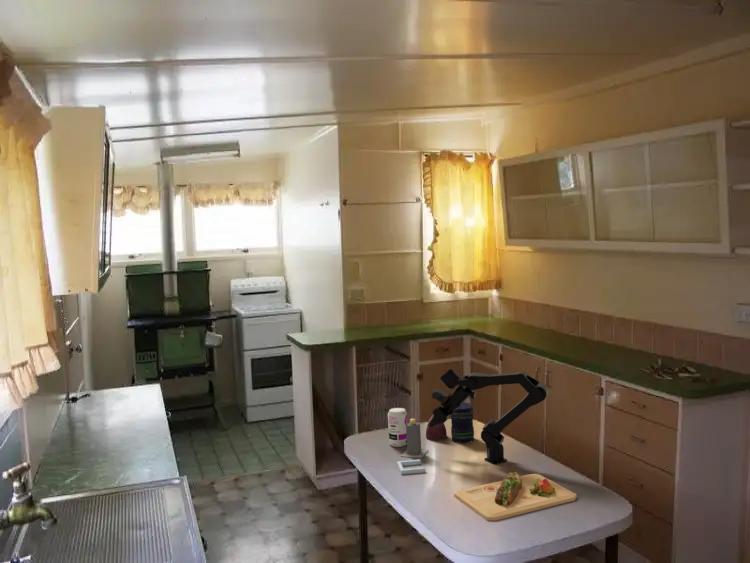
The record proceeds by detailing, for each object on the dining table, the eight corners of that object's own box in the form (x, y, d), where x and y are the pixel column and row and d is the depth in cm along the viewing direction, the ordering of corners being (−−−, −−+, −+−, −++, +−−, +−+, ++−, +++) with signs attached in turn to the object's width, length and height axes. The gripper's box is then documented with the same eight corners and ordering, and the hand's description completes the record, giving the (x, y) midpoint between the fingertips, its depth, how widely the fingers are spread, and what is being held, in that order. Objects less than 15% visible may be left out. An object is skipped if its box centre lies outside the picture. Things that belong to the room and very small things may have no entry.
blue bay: (420, 463, 256) (420, 459, 256) (425, 472, 246) (425, 468, 246) (397, 465, 255) (397, 461, 255) (401, 474, 245) (401, 470, 245)
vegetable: (446, 446, 283) (450, 418, 278) (425, 444, 283) (428, 417, 278) (445, 434, 292) (448, 407, 287) (424, 432, 292) (427, 405, 287)
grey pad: (428, 450, 270) (428, 450, 270) (421, 458, 261) (421, 457, 261) (407, 449, 273) (407, 448, 273) (400, 456, 265) (400, 455, 265)
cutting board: (536, 477, 237) (535, 457, 237) (579, 500, 216) (579, 478, 215) (452, 496, 224) (451, 475, 224) (489, 524, 203) (488, 500, 202)
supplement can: (408, 440, 283) (407, 407, 282) (407, 447, 275) (406, 412, 274) (390, 441, 284) (388, 407, 283) (388, 447, 276) (386, 412, 275)
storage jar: (464, 445, 274) (462, 410, 273) (446, 440, 282) (445, 406, 280) (479, 438, 281) (477, 404, 280) (461, 434, 288) (460, 401, 287)
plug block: (421, 451, 268) (419, 418, 267) (418, 455, 264) (416, 421, 263) (411, 450, 270) (409, 417, 269) (407, 454, 266) (405, 420, 265)
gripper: (449, 377, 268) (425, 402, 273) (436, 388, 251) (410, 414, 256) (469, 397, 266) (444, 421, 271) (457, 409, 249) (431, 435, 254)
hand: (432, 422), depth 263 cm, fingers open, 9 cm apart
